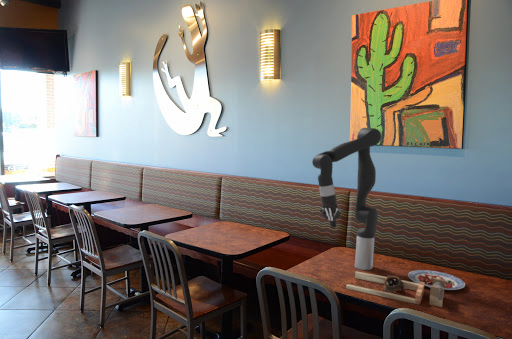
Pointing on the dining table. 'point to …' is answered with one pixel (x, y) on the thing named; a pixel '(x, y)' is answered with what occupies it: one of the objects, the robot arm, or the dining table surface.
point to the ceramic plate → (428, 276)
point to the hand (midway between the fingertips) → (333, 227)
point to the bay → (381, 279)
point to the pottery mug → (397, 284)
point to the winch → (437, 292)
